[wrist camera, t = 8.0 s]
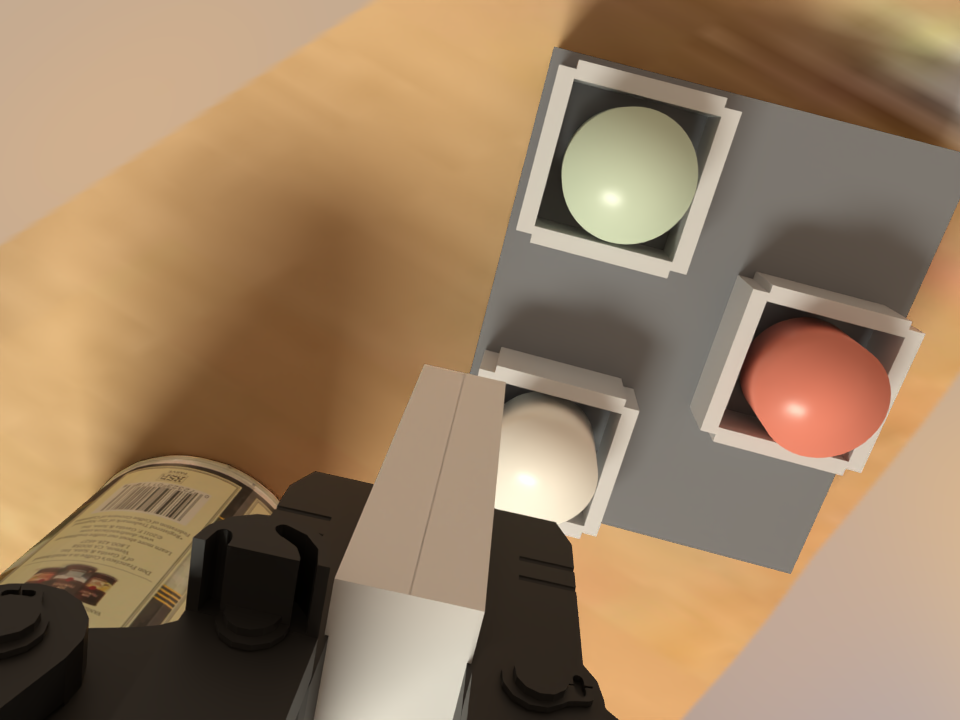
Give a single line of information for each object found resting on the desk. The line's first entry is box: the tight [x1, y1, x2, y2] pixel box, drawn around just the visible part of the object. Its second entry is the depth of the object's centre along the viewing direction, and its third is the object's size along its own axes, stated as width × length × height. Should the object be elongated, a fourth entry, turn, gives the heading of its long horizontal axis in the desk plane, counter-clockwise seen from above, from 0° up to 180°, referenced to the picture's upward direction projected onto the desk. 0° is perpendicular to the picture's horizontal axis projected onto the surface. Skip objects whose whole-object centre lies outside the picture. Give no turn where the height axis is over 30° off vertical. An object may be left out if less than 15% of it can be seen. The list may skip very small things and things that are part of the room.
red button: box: [740, 317, 891, 458], centre depth 23 cm, size 4×4×2 cm
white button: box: [494, 392, 598, 524], centre depth 24 cm, size 4×4×2 cm
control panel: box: [470, 47, 960, 574], centre depth 25 cm, size 13×15×5 cm
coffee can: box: [0, 455, 280, 628], centre depth 27 cm, size 10×10×14 cm
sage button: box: [561, 106, 698, 244], centre depth 22 cm, size 4×4×2 cm
